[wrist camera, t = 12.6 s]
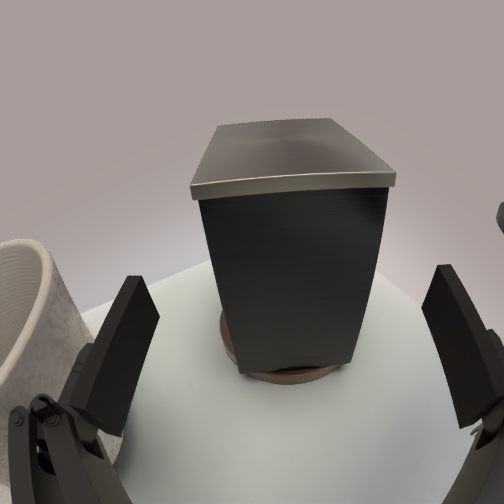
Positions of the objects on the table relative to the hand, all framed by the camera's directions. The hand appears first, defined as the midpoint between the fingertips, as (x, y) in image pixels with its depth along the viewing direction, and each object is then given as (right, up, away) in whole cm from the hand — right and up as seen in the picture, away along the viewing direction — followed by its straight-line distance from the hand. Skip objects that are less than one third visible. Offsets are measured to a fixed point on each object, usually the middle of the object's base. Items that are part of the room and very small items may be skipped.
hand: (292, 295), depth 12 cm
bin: (+2, -3, +15) cm, 15 cm away
